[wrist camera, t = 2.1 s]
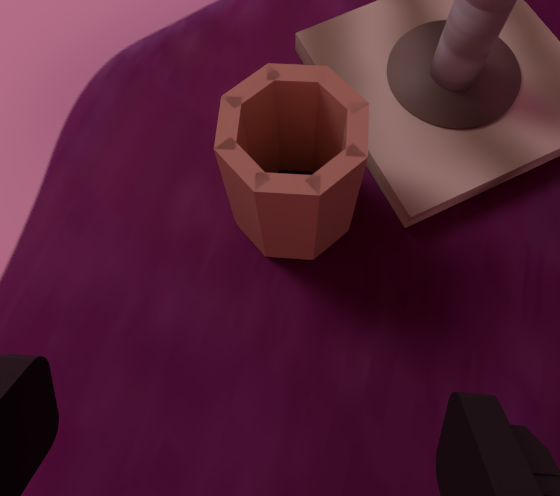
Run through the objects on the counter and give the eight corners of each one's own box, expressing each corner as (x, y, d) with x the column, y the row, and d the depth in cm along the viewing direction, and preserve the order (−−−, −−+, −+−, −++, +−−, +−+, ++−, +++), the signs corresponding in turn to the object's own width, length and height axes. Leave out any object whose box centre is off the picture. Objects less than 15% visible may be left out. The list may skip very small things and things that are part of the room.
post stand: (478, -24, 34) (538, -174, 26) (609, 132, 29) (735, 13, 21) (295, 50, 32) (295, -84, 24) (404, 228, 28) (452, 140, 19)
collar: (351, 160, 29) (369, 67, 22) (347, 262, 27) (366, 198, 20) (244, 154, 30) (226, 61, 22) (232, 254, 28) (207, 189, 20)
